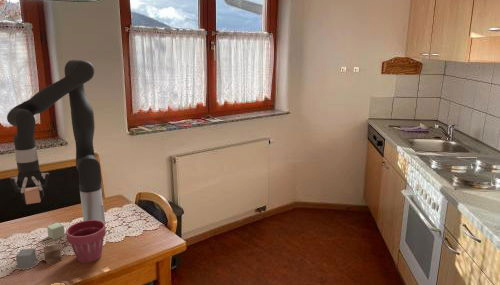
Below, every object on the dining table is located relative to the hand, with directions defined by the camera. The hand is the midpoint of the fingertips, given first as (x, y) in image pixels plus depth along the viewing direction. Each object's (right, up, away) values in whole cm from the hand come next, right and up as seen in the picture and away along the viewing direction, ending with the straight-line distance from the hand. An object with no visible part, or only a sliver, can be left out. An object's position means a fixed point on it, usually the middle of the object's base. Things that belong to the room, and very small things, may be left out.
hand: (33, 199), depth 159 cm
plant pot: (+24, -23, -2) cm, 33 cm away
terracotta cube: (0, -1, 0) cm, 1 cm away
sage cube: (+2, -18, +15) cm, 24 cm away
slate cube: (+1, -24, -7) cm, 25 cm away
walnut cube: (+10, -23, -4) cm, 26 cm away
